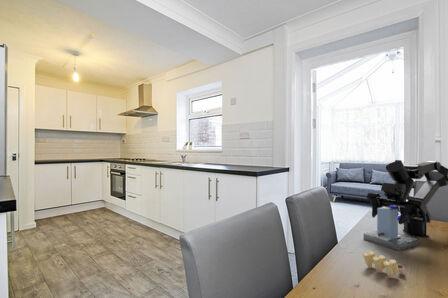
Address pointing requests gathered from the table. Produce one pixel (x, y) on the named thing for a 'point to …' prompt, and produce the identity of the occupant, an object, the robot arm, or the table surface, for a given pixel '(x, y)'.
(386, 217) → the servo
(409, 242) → the plate
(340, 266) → the table surface
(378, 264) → the ammunition
